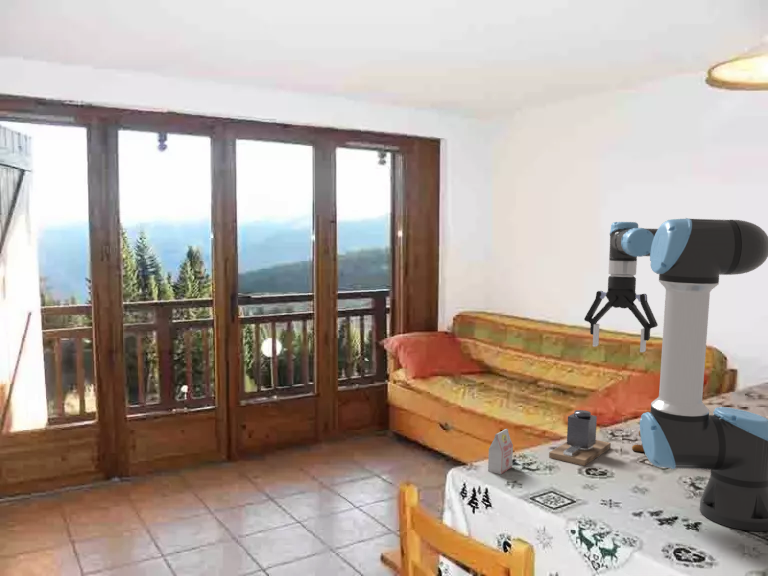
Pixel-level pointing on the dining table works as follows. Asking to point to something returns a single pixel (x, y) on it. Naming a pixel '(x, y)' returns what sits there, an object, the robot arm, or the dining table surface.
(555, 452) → the block
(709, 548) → the dining table surface
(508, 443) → the white gable top carton
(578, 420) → the grey cube with knob
